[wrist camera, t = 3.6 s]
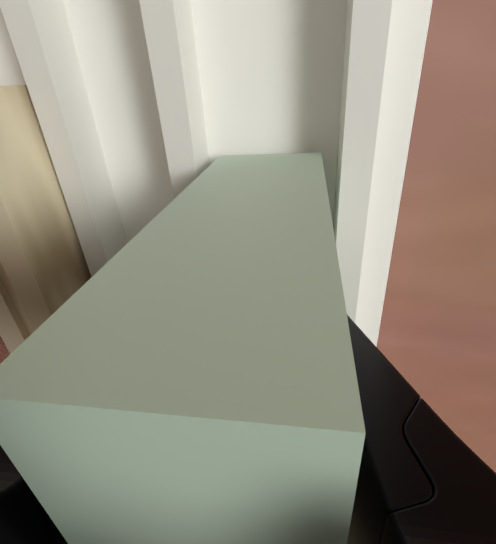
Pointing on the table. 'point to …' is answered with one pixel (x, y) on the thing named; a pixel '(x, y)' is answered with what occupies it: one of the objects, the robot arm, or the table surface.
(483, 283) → the table surface
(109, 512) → the sage green block
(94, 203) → the slot rack
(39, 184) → the offcut bundle
